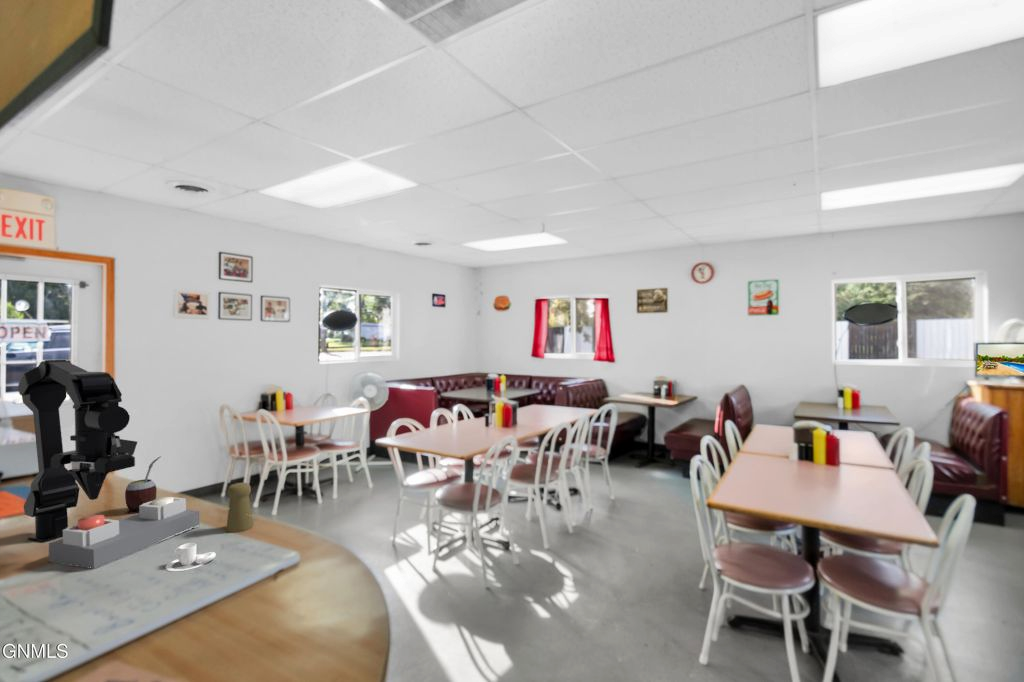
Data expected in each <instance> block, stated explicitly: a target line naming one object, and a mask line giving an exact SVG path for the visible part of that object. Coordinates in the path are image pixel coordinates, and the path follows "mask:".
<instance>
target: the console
mask: <svg viewBox="0 0 1024 682" xmlns="http://www.w3.org/2000/svg"><path fill="white" fill-rule="evenodd" d="M172 497H173V498H174V502H171V503H168V504H165V505H162V506H155V505H152V501H150V502H147V503H144V504H142V505H140V506H139V511H138V513H135V514H131V515H128V516H126V517H123V518H120V519H110V518H104V524H105V525H102V526H99V527H96V528H93V529H90V530H87V531H85V530H78V523H77V524H75V525H71V526H68V528H67V529H64V530H63V536H62V538H59V539H56V540H53V541H49V542H48V562H51V563H58V564H62V563H64V564H63V565H68V564H72V565H71V566H74V565H78V566H77V567H79V566H83V567H82V568H85V567H89V568H88V569H91V568H95V569H97V567H98V568H100V567H102V565H103V566H105V565H107V563H108V564H110V563H113V562H115V561H117V559H118V560H120V559H123V558H125V557H127V556H131V555H133V554H136V553H137V552H140V551H142V550H145V549H147V547H148V546H150V545H153V544H155V543H157V542H159V541H161V540H163V539H165V538H167V537H169V536H172V535H175V534H176V533H179V532H181V531H184V530H186V529H189V528H191V527H195V526H197V525H199V526H200V510H195V509H187V501H186V500H187V499H186V498H185V497H178V496H177V497H176V496H175V497H174V496H172ZM155 545H156V544H155ZM153 546H154V545H153ZM150 547H151V546H150ZM148 548H149V547H148ZM112 561H113V562H112ZM109 562H110V563H109ZM99 566H100V567H99ZM90 567H91V568H90Z"/></svg>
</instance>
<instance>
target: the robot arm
mask: <svg viewBox="0 0 1024 682" xmlns="http://www.w3.org/2000/svg"><path fill="white" fill-rule="evenodd" d="M17 390H18V393H19V395H20V396H21V398H22V399H21V400H22V403H23V404H24V405H25V406H26V407H27V408H28V409H29V410H30V411H31V412H32V415H33V425H34V434H35V435H34V437H35V445H36V455H37V457H36V458H37V468H38V472H37V473H36V476H35V477H34V479H33V480H32V482H31V483H30V491H29V494H28V495H27V497H26V500H25V501H24V504H23V511H24V515H26V516H27V517H31V518H34V524H35V534H33V535H30V536H27V540H31V541H37V542H48V541H51V540H54V539H56V538H60V537H63V530H64V529H67V528H68V527H69V516H68V509H69V508H77V505H78V503H79V495H80V487H81V489H82V491H83V492H84V494H85V495H86V496H87V498H88V499H89V500H91V501H95V500H97V499H98V498H99V495H100V493H101V490H102V487H103V484H104V482H105V480H106V477H107V476H108V474H110V473H113V472H116V471H120V470H126V469H129V468H133V467H135V466H136V458H135V456H134V453H135V452H136V451H135V450H136V447H137V445H138V441H135V440H130V439H121V437H120V435H116V434H115V433H119V432H121V431H123V430H124V429H125V428H126V427H127V426H128V424H129V423H130V414H129V412H128V411H127V409H125V408H124V407H122V406H121V405H120V404H119V403H122V402H123V401H122V395H123V394H122V393H121V391H120V388H119V387H118V385H117V383H116V381H115V379H114V378H113V376H111V374H110V373H109V372H106V371H105V372H104V371H89V370H86V369H83V368H81V367H79V366H77V365H75V364H73V363H72V362H71V361H70V360H67V359H44V361H43V360H42V361H40V363H39V365H37V367H35V368H32V369H30V370H28V371H27V372H26V371H25V373H23V375H22V376H21V379H20V380H19V382H18V389H17ZM67 396H69V398H70V400H71V401H72V403H73V405H72V408H73V409H74V434H73V435H70V437H69V438H70V441H74V443H75V450H74V449H73V450H71V451H70V450H69V451H65V452H64V447H63V438H62V436H63V435H62V428H61V427H62V425H61V419H60V418H61V417H60V410H59V409H60V407H61V406H62V405H63V403H64V401H65V400H66V398H67ZM68 464H71V469H68V468H66V465H68Z"/></svg>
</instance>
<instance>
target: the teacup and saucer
mask: <svg viewBox="0 0 1024 682" xmlns="http://www.w3.org/2000/svg"><path fill="white" fill-rule="evenodd" d="M177 550H178V553H177ZM173 553H174V556H175V558H176V559H173V561H172V560H171V562H169V563H168V564H166V565H165V570H166V571H168V572H185V571H190V570H193V569H196V568H199V567H202V566H204V565H205V564H207V563H209V562H211V561H213V560H214V559H215V558H216V556H217V554H216V552H214V551H210V552H209V551H208V552H205V553H200V554H198V553H197V542H188V543H183V544H182V545H180V546H178V547H176V548H175V549H174V551H173ZM178 554H179V555H178ZM178 562H180V563H181V565H182V566H190V565H193V564H194V563H196V565H194V566H191V567H188V568H178V569H177V568H173V565H174V564H175V563H178Z"/></svg>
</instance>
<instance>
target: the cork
mask: <svg viewBox="0 0 1024 682" xmlns="http://www.w3.org/2000/svg"><path fill="white" fill-rule="evenodd" d="M251 491H252V488H251V485H250V484H249V482H236V483H233V484H231V485H229V486H228V488H227V491H226V494H227V497H228V498H229V503H228V504H229V505H228V510H227V511H228V514H227V520H226V521H227V523H226V529H225V531H226V532H227V533H240V532H245V531H249V530H250V529H252V528H253V527H254V519H253V512H252V508H251V504H250V503H251V502H250V497H249V496H250V494H251ZM229 508H230V509H229ZM247 514H248V515H247ZM249 515H252V516H249Z"/></svg>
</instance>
